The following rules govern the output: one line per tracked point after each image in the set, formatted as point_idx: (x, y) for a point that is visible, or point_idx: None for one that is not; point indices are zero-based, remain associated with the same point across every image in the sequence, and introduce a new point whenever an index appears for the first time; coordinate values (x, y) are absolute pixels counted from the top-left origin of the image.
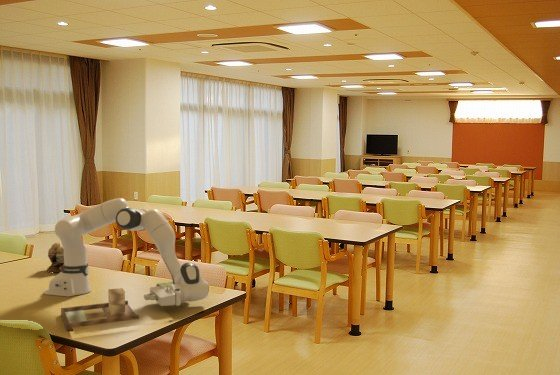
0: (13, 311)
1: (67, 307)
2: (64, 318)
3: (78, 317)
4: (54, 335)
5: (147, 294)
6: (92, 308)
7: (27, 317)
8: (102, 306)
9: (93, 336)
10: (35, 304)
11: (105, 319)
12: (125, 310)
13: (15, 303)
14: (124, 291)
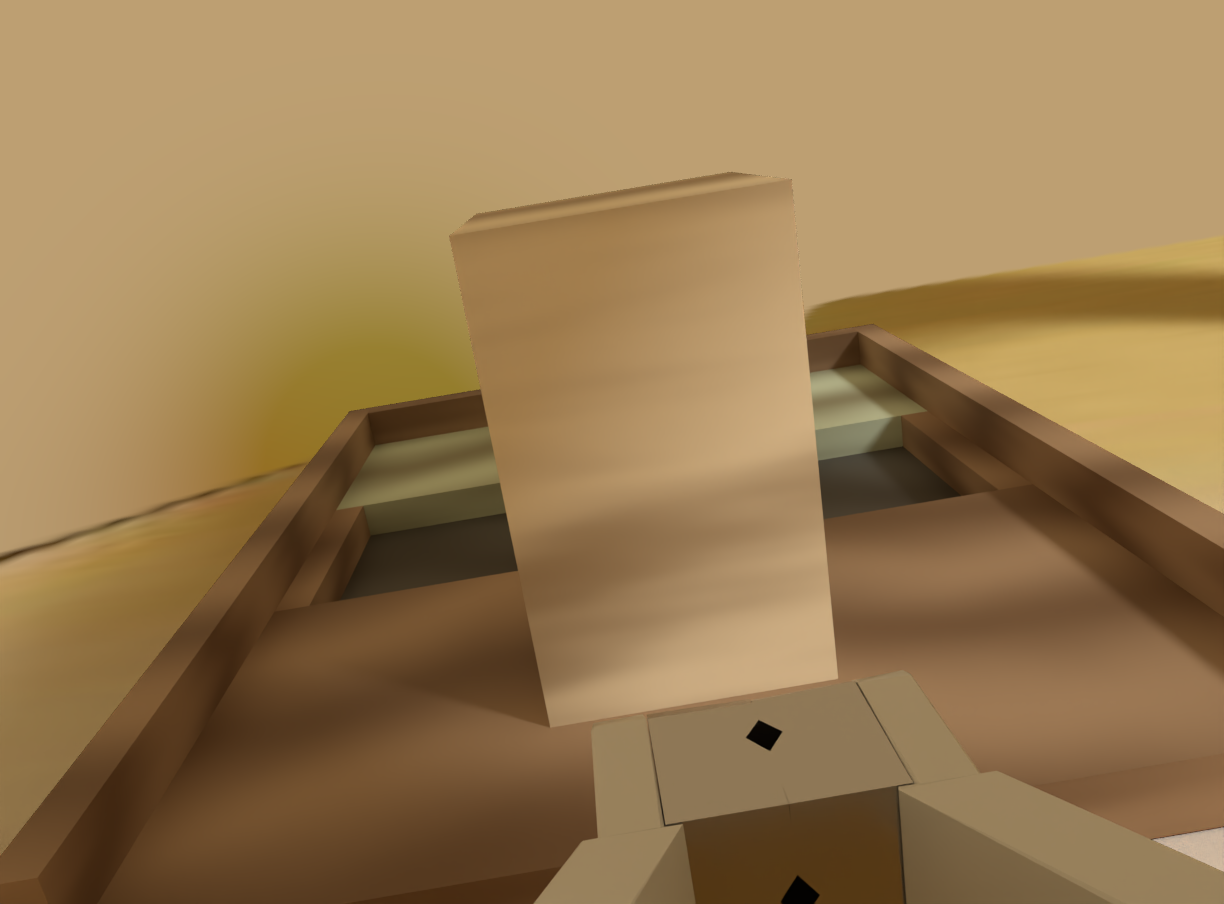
0: (993, 284)
1: (888, 335)
2: None
3: None
4: None
5: (930, 763)
6: (967, 446)
7: (838, 328)
8: (1044, 481)
9: (43, 597)
10: (1201, 285)
11: (247, 547)
12: None
13: (1201, 253)
14: (450, 237)
